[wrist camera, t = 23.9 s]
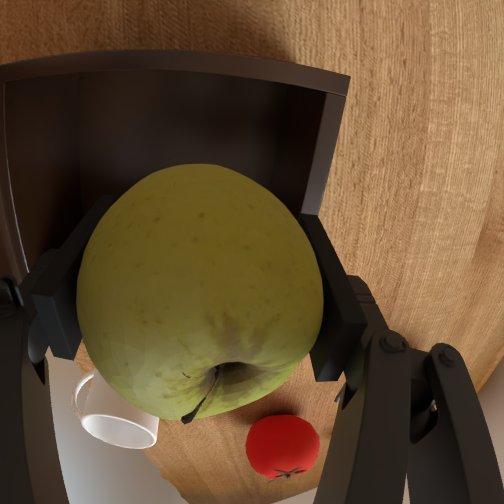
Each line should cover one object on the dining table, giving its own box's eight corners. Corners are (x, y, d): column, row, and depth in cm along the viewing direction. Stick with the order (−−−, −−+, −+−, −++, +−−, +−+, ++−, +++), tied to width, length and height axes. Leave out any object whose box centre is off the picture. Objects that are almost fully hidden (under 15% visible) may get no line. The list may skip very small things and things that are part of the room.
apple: (63, 246, 13) (-18, 418, 4) (191, 119, 13) (288, 105, 4) (180, 345, 17) (227, 516, 8) (294, 244, 16) (435, 367, 8)
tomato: (231, 426, 49) (233, 485, 40) (267, 396, 44) (274, 464, 35) (289, 436, 53) (296, 489, 44) (328, 408, 48) (342, 467, 38)
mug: (97, 368, 39) (77, 442, 29) (71, 325, 35) (39, 405, 25) (177, 368, 39) (168, 451, 29) (159, 322, 35) (142, 416, 25)
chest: (301, 70, 22) (351, 76, 13) (269, 237, 30) (286, 325, 20) (76, 57, 19) (-8, 66, 10) (78, 220, 27) (25, 296, 18)
